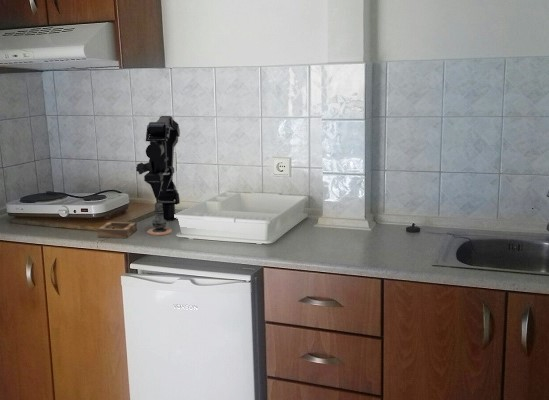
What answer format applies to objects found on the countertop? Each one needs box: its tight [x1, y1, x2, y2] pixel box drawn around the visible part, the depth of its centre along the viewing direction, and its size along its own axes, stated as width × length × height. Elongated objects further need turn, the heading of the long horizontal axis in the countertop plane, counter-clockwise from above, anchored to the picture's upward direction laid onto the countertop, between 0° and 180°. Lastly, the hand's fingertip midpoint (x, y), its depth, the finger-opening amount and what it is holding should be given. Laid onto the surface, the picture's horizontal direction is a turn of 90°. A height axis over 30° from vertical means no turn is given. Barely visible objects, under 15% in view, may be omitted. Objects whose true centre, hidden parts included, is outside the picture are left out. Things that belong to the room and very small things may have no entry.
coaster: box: [147, 227, 173, 236], centre depth 233 cm, size 9×9×1 cm
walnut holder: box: [96, 221, 138, 239], centre depth 231 cm, size 11×11×3 cm
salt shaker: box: [151, 200, 168, 232], centre depth 232 cm, size 6×6×12 cm
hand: (160, 195), depth 237 cm, fingers open, 9 cm apart
